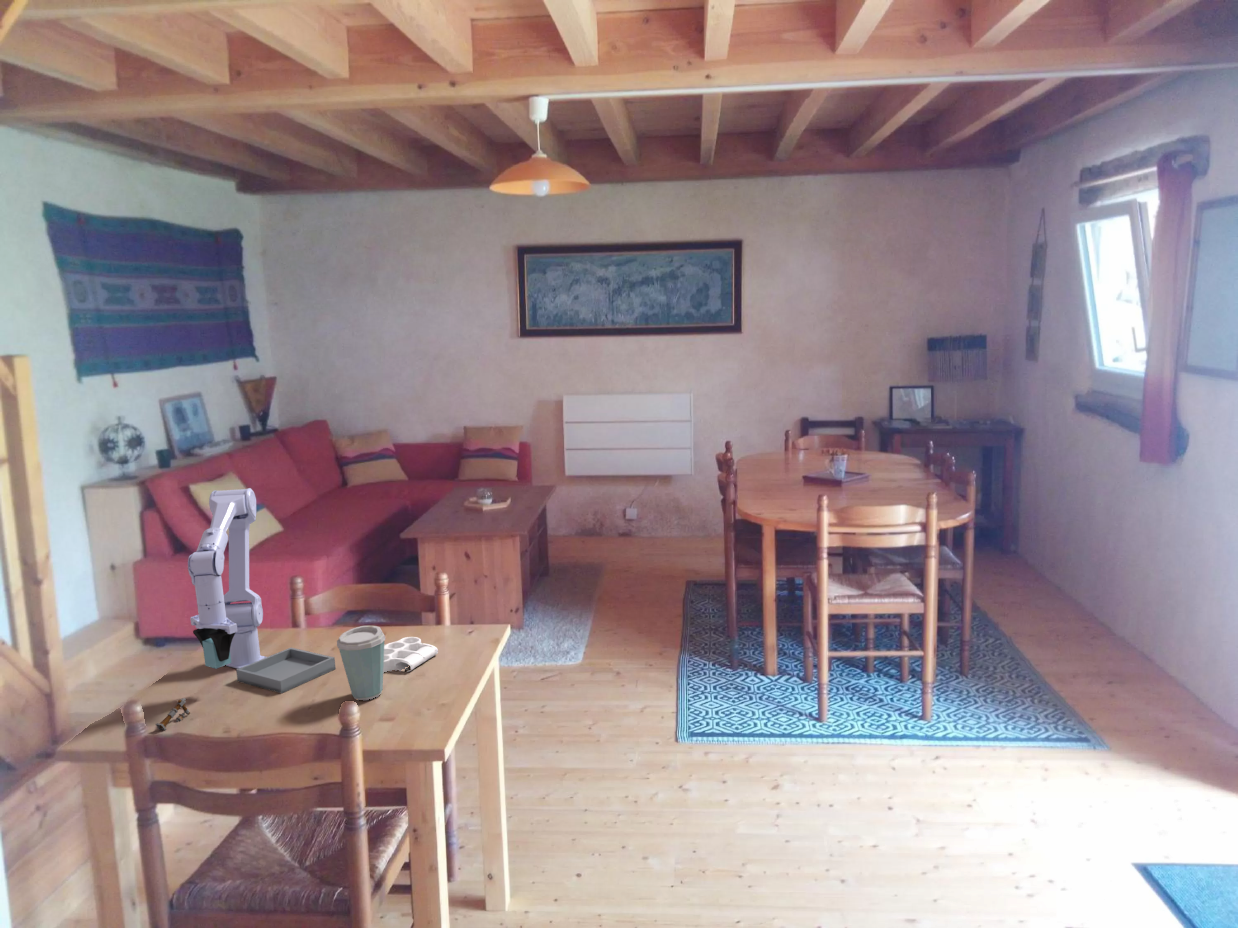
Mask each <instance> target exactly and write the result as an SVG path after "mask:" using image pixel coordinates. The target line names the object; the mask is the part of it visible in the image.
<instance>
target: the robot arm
mask: <svg viewBox="0 0 1238 928" xmlns="http://www.w3.org/2000/svg"><path fill="white" fill-rule="evenodd" d="M208 499H209V500H208V504H209V510H210V512H211V514H212V518H211V522H210V526H209V528H207V529H205V530H204V531H203V532H202V535H201V538H200V540H199V544H198V546H197V548H196V551H194V552H193V553H192V554H189V556H188V558H187V571H188V574H189V577H190V579H191V583H192V586H194V588H195V589H194V590H195V597H196V605H197V612H198V614H196V615H194V616H190V619H189V620H190V624H191V626H195V629H193V630H192V632H193V633H192V634H193V635H194V636H195V637H196V639H198V641H199V643H200V644H201V648H203V643H202V641H204V640H207V639H210V638H211V639H212V641H213V643H214V645H215V648H216V652H217V656H218V659H219V661H224V660H227V659H229V653H230V655H231V663H229V664H227V665H226V667H229V668H233V669H236V670H237V669H239V668H242V667H244V666H246V665H249V664H251V663H254V662H256V661H259V660H261V659H264V658H266V657H267V656H264V655H261V651H260V650H261V649H260V641H259V632H258V627H260V626H261V624H262V622H263V618H264V610H263V606H262V604H263V603H262V598H261V596H260V595H259V594H258V593H256V592H254V591H253V590H252V589H250V527H251V524H253V523H254V522H256V520H257V518H256V517H257V497H256V494H255V492H254V490H253V489H252V488H251V487H249V488H244V489H243V488H242V489H239V488H238V489H228V490H227V489H224V490H216V489H215V490H212V492H211V493H210V494H209V498H208ZM227 531H228V533H227ZM227 544H228V591H226V593H225V594H224V587H223V579H222V574H223V572H224V568H225V550H226V547H227ZM239 602H240V603H239Z"/></svg>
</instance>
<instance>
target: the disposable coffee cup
mask: <svg viewBox="0 0 1238 928" xmlns="http://www.w3.org/2000/svg"><path fill="white" fill-rule="evenodd" d="M386 639H387V638H386V635H385V634H384V632H383V630H382V629H381V627H380V626H377V625H361V626H357V627H354V628H350V629H348V630H347V631H344V632H343V633H341V634H340V636H339V637H338V639H337V640H336V646H337V648H338V650H339V653H340V657H341V660H342V661H341V662H342V663H343V667H344V671H345V676H346V679H347V681H348V682H347V683H348V686H349V689H350V691H351V695H352V697H353V698H354V700H355V699H358V700H357V701H359V700H363V701H369V699H370V700H374V699H376V698H378V697H380V696H381V695H382V691H383V689H384V673H383V667H384V645H385V641H386ZM380 694H381V695H380ZM379 695H380V696H379ZM375 697H376V698H375ZM373 698H374V699H373Z"/></svg>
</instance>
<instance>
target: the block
mask: <svg viewBox="0 0 1238 928" xmlns="http://www.w3.org/2000/svg"><path fill="white" fill-rule="evenodd" d="M202 643H203V647H202V649H203V658H204V665H205V666H206V667H209V668H212V669H219V668H221V667H224V666H225V665H227V664H229V663H231V655H230V653H229V659H227V660H224V661H219V659H218V656H217V652H216V648H215V645H214V643H213V641H212V639H211V638H210V639H207V640H204V641H202Z"/></svg>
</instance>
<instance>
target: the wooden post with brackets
mask: <svg viewBox="0 0 1238 928" xmlns="http://www.w3.org/2000/svg"><path fill="white" fill-rule="evenodd" d="M185 703H186V698H185V697H183V698H179V700H177V702H176V705H175V706H174V707H173V708H172V709H171V710H169V711H170V712H168V713H167V716H166V717H165V718H164V719H163V720H162V721H160V722H156V723H155V726H156V727H157V729H158V730H160V731H161V730H163V731H166V730H167V728H166V727H167V726H168V724H169V722H170V721H171V720H172V719H173V718H174V717H175V716H176V715H177V713H178V712H179V710H182V711H183V712H182V713H178V716H177V717H175V718H176V720H175V722H176V723H179V722H181V721H182V720H183V719H185V716H186V715H188V716H189V715H190V714H191V712H190V710H189V708H187V706H186V705H185ZM178 721H179V722H178Z"/></svg>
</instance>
